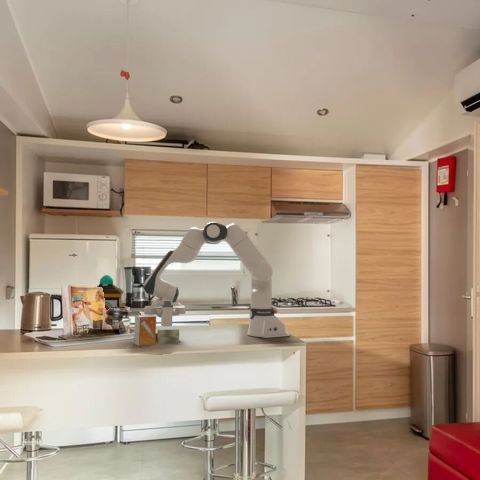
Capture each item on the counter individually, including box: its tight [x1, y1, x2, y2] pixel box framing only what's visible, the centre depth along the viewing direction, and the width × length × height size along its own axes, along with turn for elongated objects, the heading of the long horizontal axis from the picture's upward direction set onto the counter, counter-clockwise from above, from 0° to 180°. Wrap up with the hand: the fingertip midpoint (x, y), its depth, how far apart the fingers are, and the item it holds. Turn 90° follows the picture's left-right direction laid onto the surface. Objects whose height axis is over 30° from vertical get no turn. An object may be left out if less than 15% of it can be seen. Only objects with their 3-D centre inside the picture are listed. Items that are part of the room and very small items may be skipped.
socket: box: [155, 328, 180, 344], centre depth 214 cm, size 10×10×6 cm
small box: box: [133, 314, 157, 347], centre depth 205 cm, size 8×6×13 cm
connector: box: [160, 300, 173, 327], centre depth 215 cm, size 5×5×12 cm
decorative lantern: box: [96, 274, 126, 310], centre depth 239 cm, size 20×20×30 cm
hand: (167, 312), depth 214 cm, fingers closed on connector, 4 cm apart
